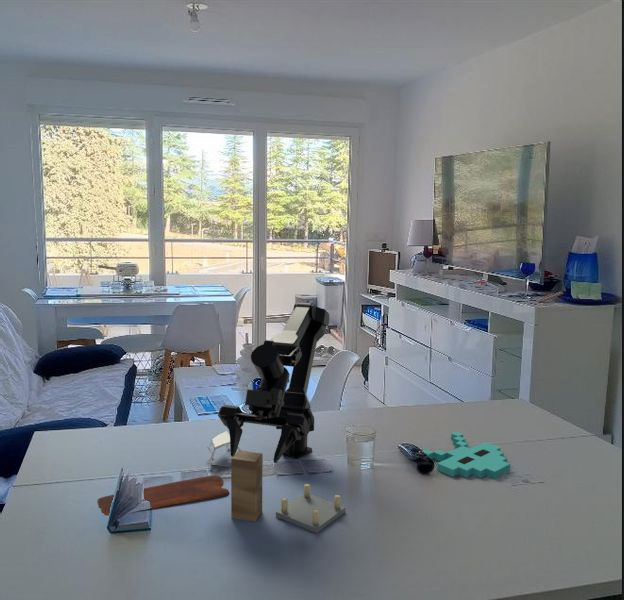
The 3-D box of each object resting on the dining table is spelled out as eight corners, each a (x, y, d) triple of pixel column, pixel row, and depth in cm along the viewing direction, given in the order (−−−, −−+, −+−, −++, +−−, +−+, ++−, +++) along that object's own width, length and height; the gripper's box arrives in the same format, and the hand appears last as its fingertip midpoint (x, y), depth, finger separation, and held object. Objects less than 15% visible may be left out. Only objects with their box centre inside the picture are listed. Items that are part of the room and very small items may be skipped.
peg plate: (305, 497, 128) (305, 481, 128) (345, 511, 123) (345, 495, 122) (275, 516, 120) (276, 500, 120) (316, 533, 115) (317, 516, 114)
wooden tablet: (219, 478, 138) (219, 471, 137) (231, 498, 129) (231, 490, 128) (96, 498, 127) (95, 491, 127) (99, 521, 118) (99, 514, 118)
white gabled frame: (242, 466, 142) (242, 446, 142) (206, 468, 141) (206, 448, 141) (241, 446, 154) (241, 427, 153) (208, 447, 153) (208, 428, 152)
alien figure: (407, 459, 149) (477, 489, 134) (407, 450, 149) (478, 480, 134) (455, 439, 162) (524, 464, 147) (456, 431, 162) (525, 456, 147)
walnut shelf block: (239, 508, 123) (239, 450, 121) (262, 511, 122) (262, 453, 120) (231, 517, 120) (231, 458, 117) (255, 521, 118) (255, 461, 116)
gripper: (221, 368, 127) (198, 437, 118) (306, 376, 122) (288, 449, 113) (236, 393, 136) (215, 459, 127) (315, 402, 131) (300, 471, 122)
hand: (253, 459), depth 122 cm, fingers open, 9 cm apart
